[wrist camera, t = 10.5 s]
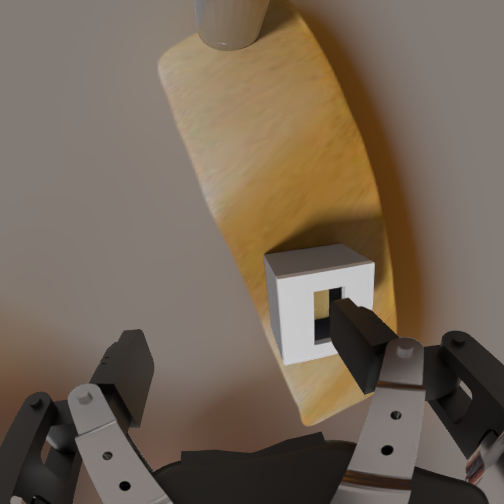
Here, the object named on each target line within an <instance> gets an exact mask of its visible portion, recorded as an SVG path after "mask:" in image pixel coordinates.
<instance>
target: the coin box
mask: <svg viewBox="0 0 504 504" xmlns="http://www.w3.org/2000/svg"><path fill="white" fill-rule="evenodd" d="M264 262H265V272H266V281H267V291H268V300H269V310H270V320H271V328H272V331H273V334H274V337H275V340H276V343H277V345H278V348H279V351H280V354H281V357H282V360H283V363H284V365H289V364H294V363H299V362H303V361H308V360H313V359H317V358H321V357H326V356H330V355H334V354H338V352H337V351H336V349H335V348H334V346H333V344H332V341H331V337H330V305H331V302H332V301H334V300H339V299H344V298H350V299H351V300H352V301H353V302H354V303H355V304H356V305H357V306H358V307H359V306H363V307H365V308H368V309H370V310H372V305H373V290H374V268H375V263H374V262H373V261H371V260H369V259H368V258H366V257H364V256H363V255H361V254H359V253H357V252H356V251H354V250H352V249H351V248H349V247H347V246H345V245H344V244H342V243H341V244H334V245H327V246H320V247H313V248H306V249H299V250H292V251H285V252H278V253H271V254H264ZM328 289H329V317H325V318H321V319H316V320H314V293H313V292H317V291H322V290H328Z"/></svg>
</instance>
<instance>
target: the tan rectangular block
mask: <svg viewBox="0 0 504 504" xmlns="http://www.w3.org/2000/svg"><path fill="white" fill-rule="evenodd" d="M313 293H314V320H316V319H321V318H325V317H329V289H328V290H322V291H317V292H313Z"/></svg>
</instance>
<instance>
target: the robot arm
mask: <svg viewBox="0 0 504 504" xmlns="http://www.w3.org/2000/svg"><path fill="white" fill-rule="evenodd" d="M269 2H270V0H194V4H195V11H196V20H197V27H198V33H199V36H200V38H201V39H202V40H203V42H205V43H206V44H207V45H209V46H211V47H213V48H216V49H219V50H238V49H241V48H245V47H247V46H248V45H250V44H252V43H253V42H254V41H255V40H256V39H257V37H258V36H259V33H260V30H261V27H262V24H263V21H264V18H265V15H266V11H267V8H268V5H269ZM330 337H331V341H332V344H333V346H334V348H335V349H336V351H337V352H338V354H339V355H340V357H341V359H342V360H343V362H344V363H345V365H346V366H347V368H348V370H349V371H350V373H351V374H352V376H353V377H354V379H355V381H356V382H357V384H358V385H359V387H360V389H361V390H362V392H363V393H364V395H365V394H368V393H371V392H374V396H373V399H372V402H371V406H370V409H369V412H368V415H367V418H366V421H365V424H364V427H363V430H362V433H361V436H360V438H359V441H358V444H357V443H353V442H349V441H342V440H324V437H323V435H322V432H318V433H314V434H310V435H306V436H302V437H297V438H293V439H288V440H285V441H283V442H280V443H278V444H276V445H273V446H271V447H268V448H265V449H262V450H260V451H257V452H254V453H242V452H231V451H221V450H203V451H182V452H181V461H177V462H174V463H170V464H168V465H166V466H163V467H161V468H160V469H158V470H156V471H154V470H153V469H152V468H151V466H150V465H149V464H148V462H147V461H146V460H145V458H144V457H143V455H142V454H141V452H140V451H139V450H138V448H137V446H136V445H135V443H134V442H133V440H132V439H131V437H130V436H129V434H128V429H129V427H135V428H139V427H140V423H141V419H142V416H143V412H144V408H145V404H146V400H147V396H148V392H149V388H150V384H151V381H152V377H153V374H154V362H153V358H152V356H151V353H150V350H149V347H148V345H147V342H146V339H145V336H144V334H143V332H142V330H140V329H137V330H126V331H123V333H122V335H121V337H120V338H119V340H118V342H115V343H114V344H112V345H111V346H110V347H109V348H108V349H107V351H106V352H105V354H104V356H103V358H102V359H101V361H100V365H98V367H97V369H96V371H95V373H94V374H93V377H92V378H91V380H90V382H89V384H83V385H81V386H78V387H76V388H75V389H74V390H72V392H71V393H70V394H69V396H68V400H62V401H56V402H53V401H52V399H51V397H50V396H49V395H48V394H47V393H46V392H36V393H34V394H32V395H30V396H29V397H28V398H27V399H26V400H25V402H24V403H23V405H22V407H21V409H20V411H19V412H18V414H17V416H16V417H15V419H14V421H13V423H12V425H11V427H10V429H9V431H8V433H7V435H6V437H5V439H4V441H3V443H2V445H1V447H0V504H72V503H73V498H74V493H75V489H76V484H77V480H78V476H79V472H80V468H81V464H82V460H83V461H84V463H85V466H86V468H87V471H88V473H89V474H90V477H91V479H92V481H93V483H94V485H95V487H96V490H97V491H98V493H99V495H100V497H101V499H102V501H103V503H104V504H499V503H501V502H502V501H503V500H504V365H503V364H502V363H501V362H500V361H499V360H497V359H496V358H495V357H494V356H493V355H492V354H491V353H489V351H487V350H486V349H485V348H484V347H483V346H482V345H480V343H478V342H477V341H476V340H475V339H474V338H473V337H471V336H470V335H469V334H467V333H465V332H461V331H450V332H447V333H446V334H444V335H443V337H442V341H441V344H440V345H435V346H428V347H423V345H422V344H421V343H420V342H419V341H417V340H415V339H413V338H408V337H401V338H399V337H398V336H397V335H396V334H395V333H394V332H393V331H392V330H391V329H390V328H389V327H388V326H387V325H386V324H385V323H383V321H382V320H381V319H380V318H379V317H378V316H377V315H376V314H375V313H374V312H373V311H372V310H370V309H368V308H365V307H363V306H359V307H358V306H357V305H356V304H355V303H354V302H353V301H352V300H351V299H350V298H344V299H339V300H334V301H332V302H331V305H330ZM461 380H462V381H463V382H464V383H465V384H466V385H467V387H468V388H469V389H470V390H471V392H472V399H471V398H470V397H469V396H468V395H467V394H466V392H465V391H464V390H463V389H462V388H461V387H460V382H461ZM425 401H427V402H428V403H429V404H430V406H431V407H432V409H433V410H434V411H435V413H436V414H437V416H438V417H439V419H440V420H441V421H442V423H443V424H444V426H445V427H446V429H447V430H448V432H449V433H450V435H451V436H452V438H453V439H454V440H455V442H456V443H457V445H458V447H459V448H460V449H461V451H462V453H463V454H464V456H465V457H466V459H467V463H466V467H465V470H466V477H465V481H463V480H459V479H455V478H451V477H448V476H444V475H441V474H437V473H434V472H431V471H428V470H425V469H422V468H419V467H416V466H415V461H416V456H417V451H418V446H419V441H420V435H421V428H422V420H423V412H424V403H425ZM45 440H47V441H48V442H49V443H50V444H51V445H52V446H51V448H50V451H49V454H48V457H47V460H46V463H45V465H44V464H43V462H42V460H41V457H40V454H41V450H42V447H43V445H44V442H45Z"/></svg>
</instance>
